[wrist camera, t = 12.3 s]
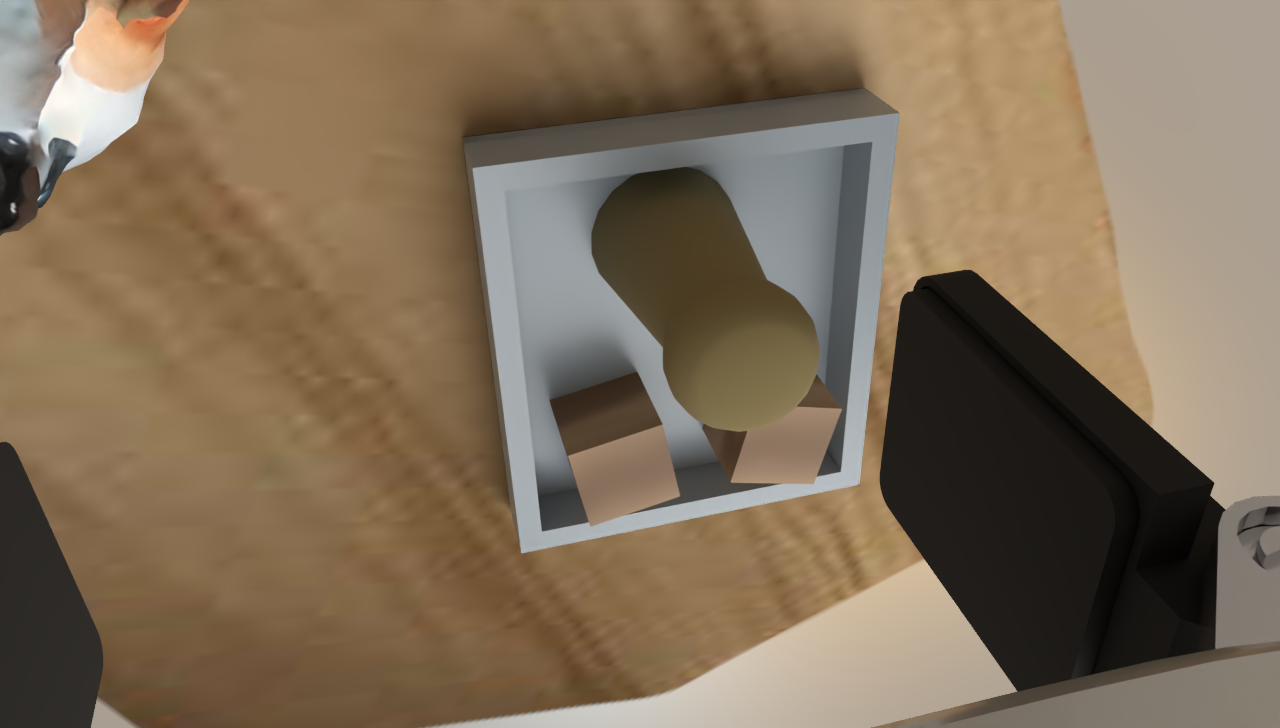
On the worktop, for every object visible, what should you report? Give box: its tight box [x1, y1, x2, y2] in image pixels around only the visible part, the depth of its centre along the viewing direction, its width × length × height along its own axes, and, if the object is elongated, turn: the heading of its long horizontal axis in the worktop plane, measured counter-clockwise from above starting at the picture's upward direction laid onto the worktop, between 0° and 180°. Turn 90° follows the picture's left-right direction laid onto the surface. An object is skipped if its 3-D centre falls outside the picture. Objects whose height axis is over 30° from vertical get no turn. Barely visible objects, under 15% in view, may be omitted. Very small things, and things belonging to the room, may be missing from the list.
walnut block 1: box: [549, 372, 680, 527], centre depth 45 cm, size 4×4×4 cm
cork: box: [591, 167, 820, 432], centre depth 38 cm, size 6×6×11 cm
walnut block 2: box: [702, 374, 842, 484], centre depth 46 cm, size 4×4×4 cm
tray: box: [462, 88, 899, 553], centre depth 44 cm, size 18×16×3 cm
